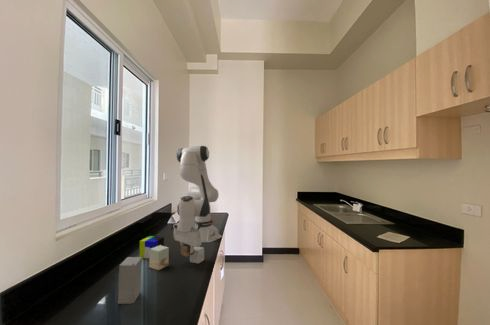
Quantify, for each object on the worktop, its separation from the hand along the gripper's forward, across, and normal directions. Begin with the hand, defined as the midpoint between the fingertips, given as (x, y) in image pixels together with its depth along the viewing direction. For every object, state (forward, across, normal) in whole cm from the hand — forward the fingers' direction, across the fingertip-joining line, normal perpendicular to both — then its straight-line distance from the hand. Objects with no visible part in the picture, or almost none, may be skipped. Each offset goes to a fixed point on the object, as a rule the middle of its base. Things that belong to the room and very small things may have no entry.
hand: (187, 251), depth 133 cm
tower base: (+7, +10, +11) cm, 17 cm away
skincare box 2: (+8, 0, -7) cm, 10 cm away
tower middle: (+2, +10, +11) cm, 15 cm away
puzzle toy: (+8, +28, +5) cm, 30 cm away
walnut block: (+2, 0, 0) cm, 2 cm away
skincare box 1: (+7, -9, +36) cm, 38 cm away
